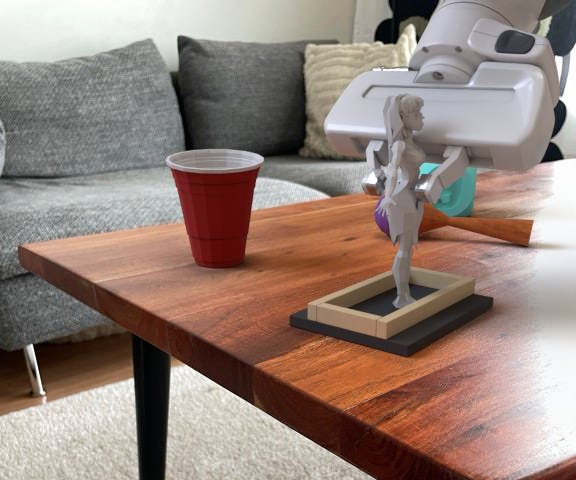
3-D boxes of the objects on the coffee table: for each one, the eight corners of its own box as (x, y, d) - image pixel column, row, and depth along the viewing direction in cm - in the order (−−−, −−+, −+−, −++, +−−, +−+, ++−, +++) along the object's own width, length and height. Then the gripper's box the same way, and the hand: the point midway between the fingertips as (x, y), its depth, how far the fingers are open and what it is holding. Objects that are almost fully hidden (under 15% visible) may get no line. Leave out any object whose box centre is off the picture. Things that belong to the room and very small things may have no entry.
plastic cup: (175, 277, 78) (167, 162, 73) (169, 253, 88) (162, 150, 83) (274, 271, 80) (272, 159, 75) (257, 248, 90) (255, 147, 85)
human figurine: (404, 329, 60) (411, 97, 52) (361, 325, 61) (361, 98, 54) (434, 288, 70) (444, 88, 63) (396, 285, 71) (401, 89, 64)
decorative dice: (469, 209, 112) (474, 156, 109) (472, 219, 105) (478, 163, 102) (417, 207, 114) (421, 155, 110) (417, 217, 107) (421, 161, 103)
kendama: (533, 219, 86) (371, 196, 91) (523, 265, 89) (367, 240, 95) (537, 201, 90) (382, 181, 96) (528, 245, 94) (379, 223, 99)
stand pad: (492, 307, 68) (496, 282, 67) (407, 357, 57) (409, 327, 56) (384, 284, 75) (386, 261, 74) (289, 325, 64) (289, 298, 63)
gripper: (350, 41, 67) (285, 160, 64) (569, 38, 56) (501, 183, 53) (373, 91, 72) (314, 203, 70) (579, 98, 61) (517, 233, 58)
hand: (396, 195), depth 61 cm, fingers open, 4 cm apart
